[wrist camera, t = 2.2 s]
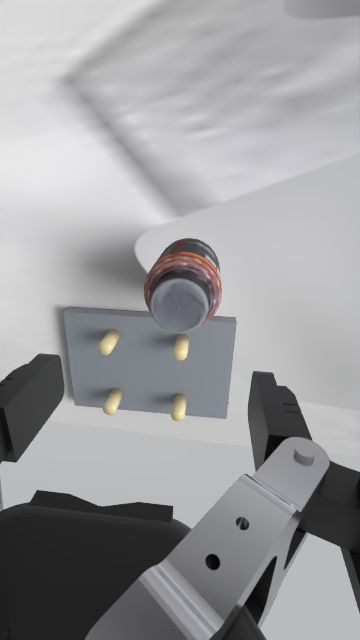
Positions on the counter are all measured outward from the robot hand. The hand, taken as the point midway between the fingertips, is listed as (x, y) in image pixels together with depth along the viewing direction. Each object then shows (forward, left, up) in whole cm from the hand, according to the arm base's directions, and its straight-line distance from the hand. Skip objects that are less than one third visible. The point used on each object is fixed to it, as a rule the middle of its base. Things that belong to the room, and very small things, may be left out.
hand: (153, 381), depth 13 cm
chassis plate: (+11, -4, -20) cm, 23 cm away
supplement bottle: (0, 0, -20) cm, 20 cm away
